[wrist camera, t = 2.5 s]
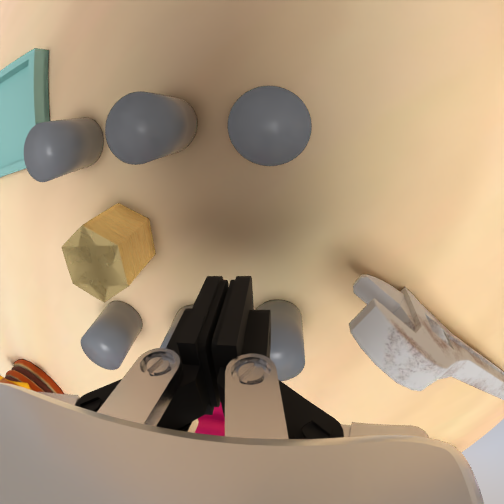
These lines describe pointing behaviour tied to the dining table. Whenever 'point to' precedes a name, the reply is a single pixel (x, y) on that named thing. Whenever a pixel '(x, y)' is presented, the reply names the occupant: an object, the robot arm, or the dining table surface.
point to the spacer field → (162, 144)
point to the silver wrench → (415, 341)
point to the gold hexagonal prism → (109, 251)
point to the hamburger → (30, 378)
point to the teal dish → (22, 106)
